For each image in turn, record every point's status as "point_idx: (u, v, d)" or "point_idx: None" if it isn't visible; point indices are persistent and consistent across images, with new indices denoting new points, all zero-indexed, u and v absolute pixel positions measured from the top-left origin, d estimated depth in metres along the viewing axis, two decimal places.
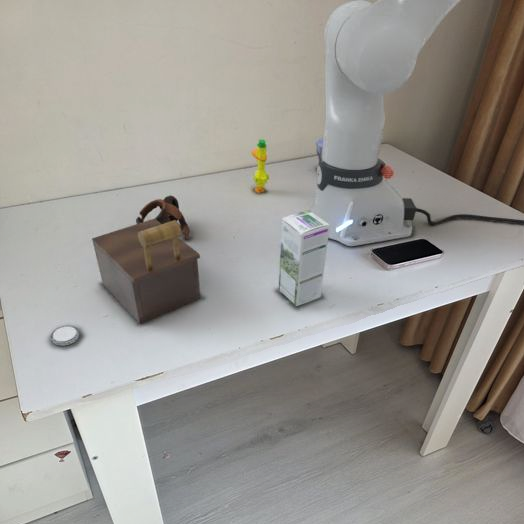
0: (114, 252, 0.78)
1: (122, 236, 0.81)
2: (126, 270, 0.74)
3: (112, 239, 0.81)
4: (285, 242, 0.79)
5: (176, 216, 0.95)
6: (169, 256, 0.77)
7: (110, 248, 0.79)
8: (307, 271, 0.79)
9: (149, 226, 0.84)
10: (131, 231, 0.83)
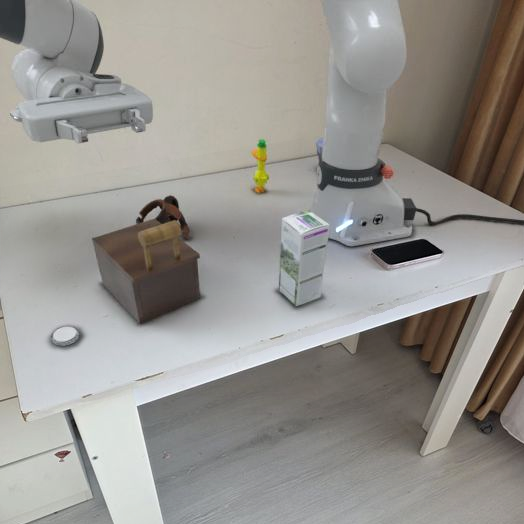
0: (114, 252, 0.78)
1: (122, 236, 0.81)
2: (126, 270, 0.74)
3: (112, 239, 0.81)
4: (285, 242, 0.79)
5: (176, 216, 0.95)
6: (169, 256, 0.77)
7: (110, 248, 0.79)
8: (307, 271, 0.79)
9: (149, 226, 0.84)
10: (131, 231, 0.83)
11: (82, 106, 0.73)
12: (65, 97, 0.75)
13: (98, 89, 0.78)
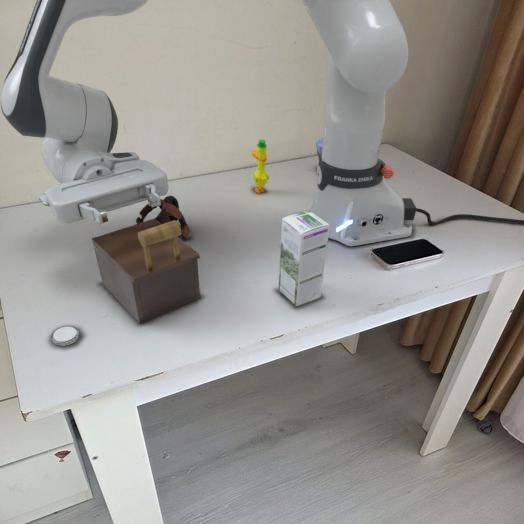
0: (114, 252, 0.78)
1: (122, 236, 0.81)
2: (126, 270, 0.74)
3: (112, 239, 0.81)
4: (285, 242, 0.79)
5: (176, 216, 0.95)
6: (169, 256, 0.77)
7: (110, 248, 0.79)
8: (307, 271, 0.79)
9: (149, 226, 0.84)
10: (131, 231, 0.83)
11: (102, 187, 0.80)
12: (87, 179, 0.81)
13: (117, 168, 0.84)
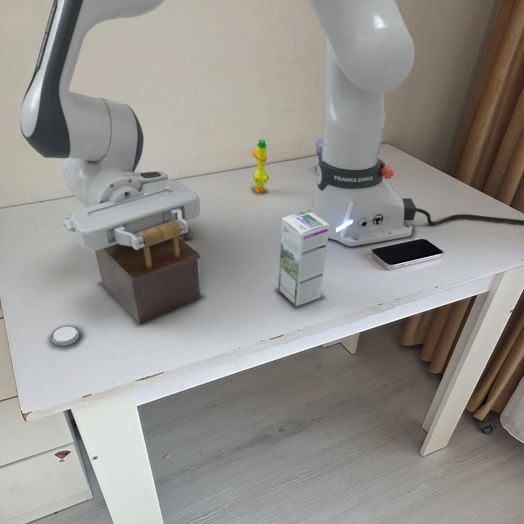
0: (114, 252, 0.78)
1: None
2: (126, 270, 0.74)
3: None
4: (285, 242, 0.79)
5: None
6: (169, 256, 0.77)
7: (110, 248, 0.79)
8: (307, 271, 0.79)
9: None
10: None
11: (131, 211, 0.74)
12: (115, 202, 0.76)
13: (146, 189, 0.78)
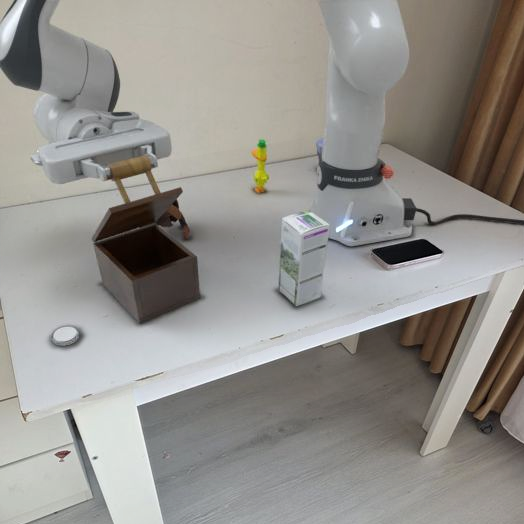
0: None
1: None
2: None
3: None
4: (285, 242, 0.79)
5: (176, 216, 0.95)
6: None
7: None
8: (307, 271, 0.79)
9: None
10: None
11: (100, 145, 0.73)
12: (84, 137, 0.75)
13: (116, 127, 0.77)
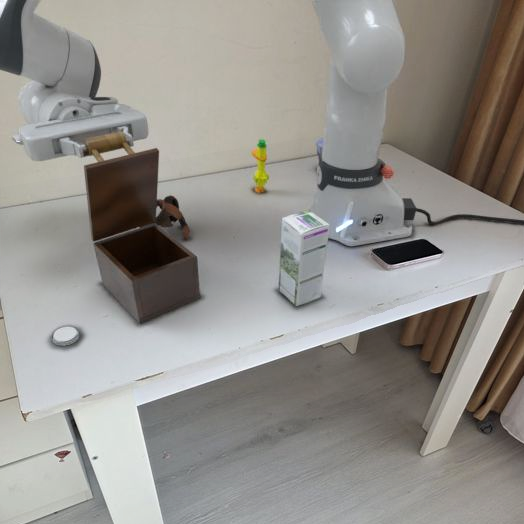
0: None
1: None
2: None
3: None
4: (285, 242, 0.79)
5: (176, 216, 0.95)
6: None
7: None
8: (307, 271, 0.79)
9: None
10: None
11: (78, 125, 0.77)
12: (63, 119, 0.78)
13: (95, 110, 0.81)
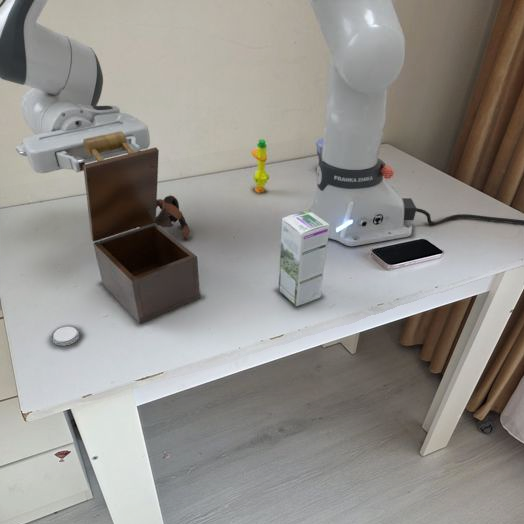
0: None
1: None
2: None
3: None
4: (285, 242, 0.79)
5: (176, 216, 0.95)
6: None
7: None
8: (307, 271, 0.79)
9: None
10: None
11: (81, 137, 0.78)
12: (66, 130, 0.80)
13: (97, 120, 0.82)
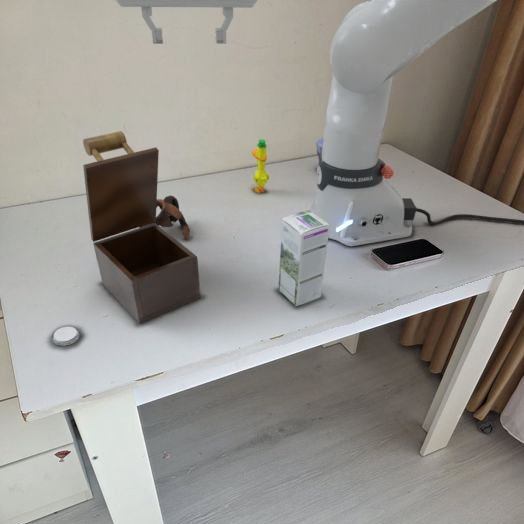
0: None
1: None
2: None
3: None
4: (285, 242, 0.79)
5: (176, 216, 0.95)
6: None
7: None
8: (307, 271, 0.79)
9: None
10: None
11: None
12: None
13: None
